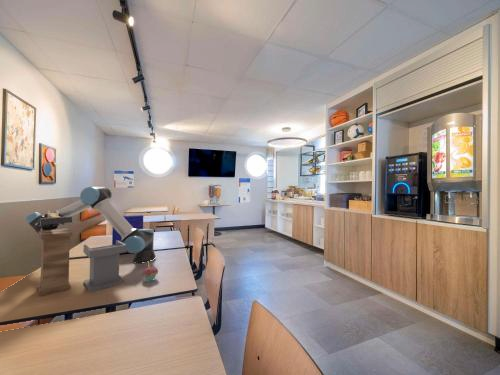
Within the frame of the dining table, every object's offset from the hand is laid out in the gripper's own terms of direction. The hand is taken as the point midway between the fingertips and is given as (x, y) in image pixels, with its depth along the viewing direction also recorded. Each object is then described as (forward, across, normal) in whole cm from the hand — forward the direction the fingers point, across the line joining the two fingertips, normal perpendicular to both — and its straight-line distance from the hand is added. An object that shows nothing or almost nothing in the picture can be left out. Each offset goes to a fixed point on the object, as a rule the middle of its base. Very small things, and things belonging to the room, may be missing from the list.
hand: (53, 212), depth 121 cm
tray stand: (-1, -20, -45) cm, 49 cm away
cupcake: (+11, -40, -52) cm, 66 cm away
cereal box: (-46, -49, -19) cm, 70 cm away
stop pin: (+1, 0, -5) cm, 5 cm away
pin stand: (-11, 0, -39) cm, 41 cm away
